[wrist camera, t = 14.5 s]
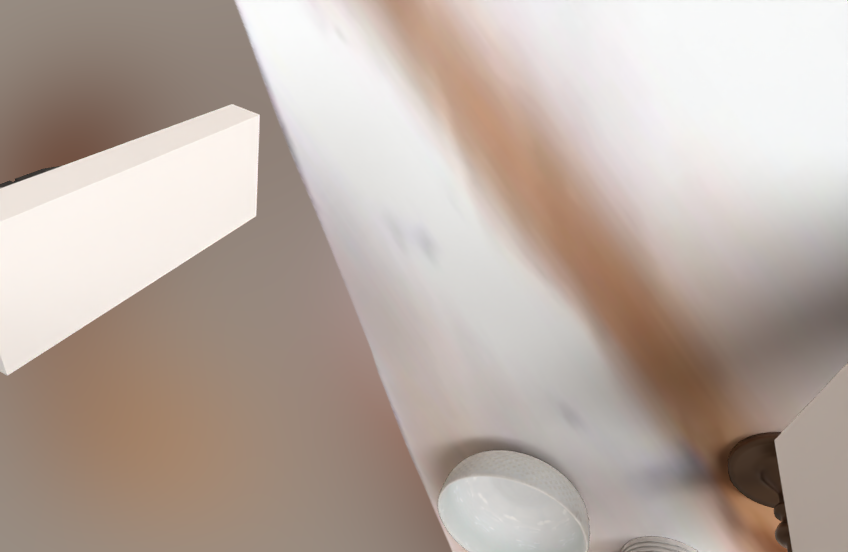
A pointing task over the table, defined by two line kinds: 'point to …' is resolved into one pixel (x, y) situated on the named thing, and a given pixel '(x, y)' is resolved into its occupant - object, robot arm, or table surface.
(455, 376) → the table surface
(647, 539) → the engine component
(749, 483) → the candlestick
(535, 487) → the cereal bowl
